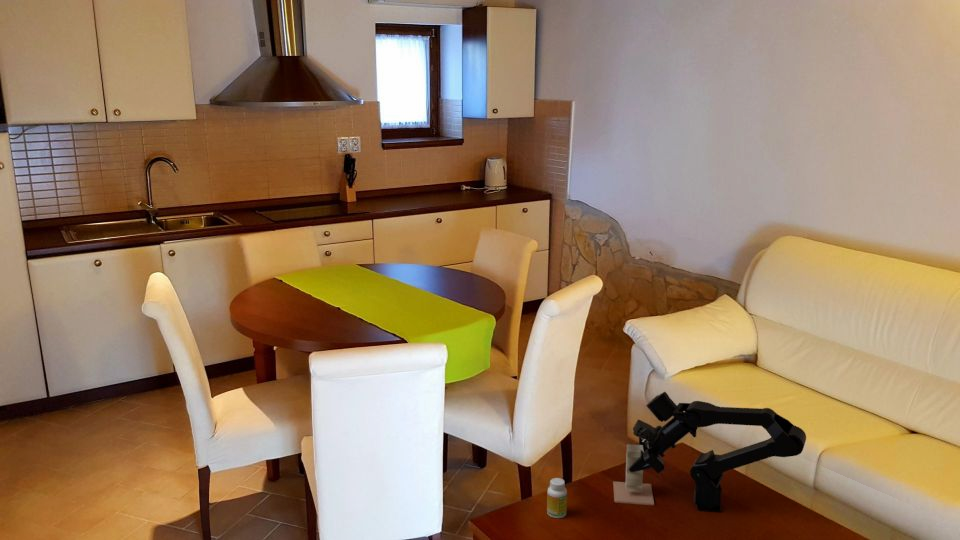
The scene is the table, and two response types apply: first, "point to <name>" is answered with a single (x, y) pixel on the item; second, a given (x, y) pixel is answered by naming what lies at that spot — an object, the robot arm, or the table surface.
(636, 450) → the birch pillar
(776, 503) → the table surface
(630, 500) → the plate
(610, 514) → the table surface
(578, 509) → the table surface
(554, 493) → the supplement bottle
